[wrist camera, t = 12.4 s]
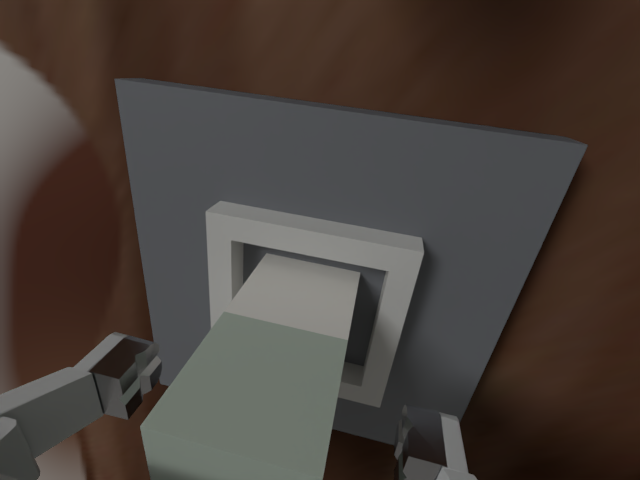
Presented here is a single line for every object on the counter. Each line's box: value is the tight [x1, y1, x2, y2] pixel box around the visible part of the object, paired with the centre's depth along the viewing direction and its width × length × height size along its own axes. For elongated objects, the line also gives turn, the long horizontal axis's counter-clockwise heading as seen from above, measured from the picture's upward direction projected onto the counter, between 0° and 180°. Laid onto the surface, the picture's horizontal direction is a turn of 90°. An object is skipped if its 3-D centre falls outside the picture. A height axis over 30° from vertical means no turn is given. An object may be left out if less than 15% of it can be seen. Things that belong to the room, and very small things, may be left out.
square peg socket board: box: [115, 78, 588, 445], centre depth 15 cm, size 16×16×3 cm
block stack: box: [140, 253, 360, 480], centre depth 11 cm, size 4×4×8 cm
